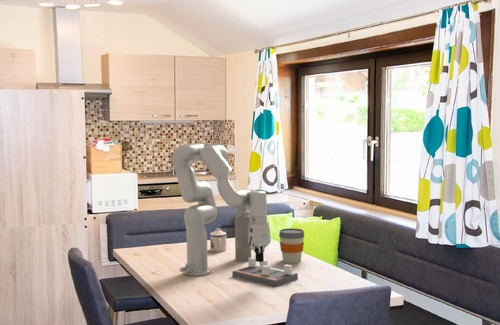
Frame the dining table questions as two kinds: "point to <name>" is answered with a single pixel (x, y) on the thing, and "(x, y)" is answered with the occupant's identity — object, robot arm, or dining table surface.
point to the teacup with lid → (218, 241)
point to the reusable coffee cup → (291, 244)
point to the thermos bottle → (242, 234)
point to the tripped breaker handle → (265, 270)
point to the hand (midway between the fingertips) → (259, 261)
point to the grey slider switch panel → (273, 279)
